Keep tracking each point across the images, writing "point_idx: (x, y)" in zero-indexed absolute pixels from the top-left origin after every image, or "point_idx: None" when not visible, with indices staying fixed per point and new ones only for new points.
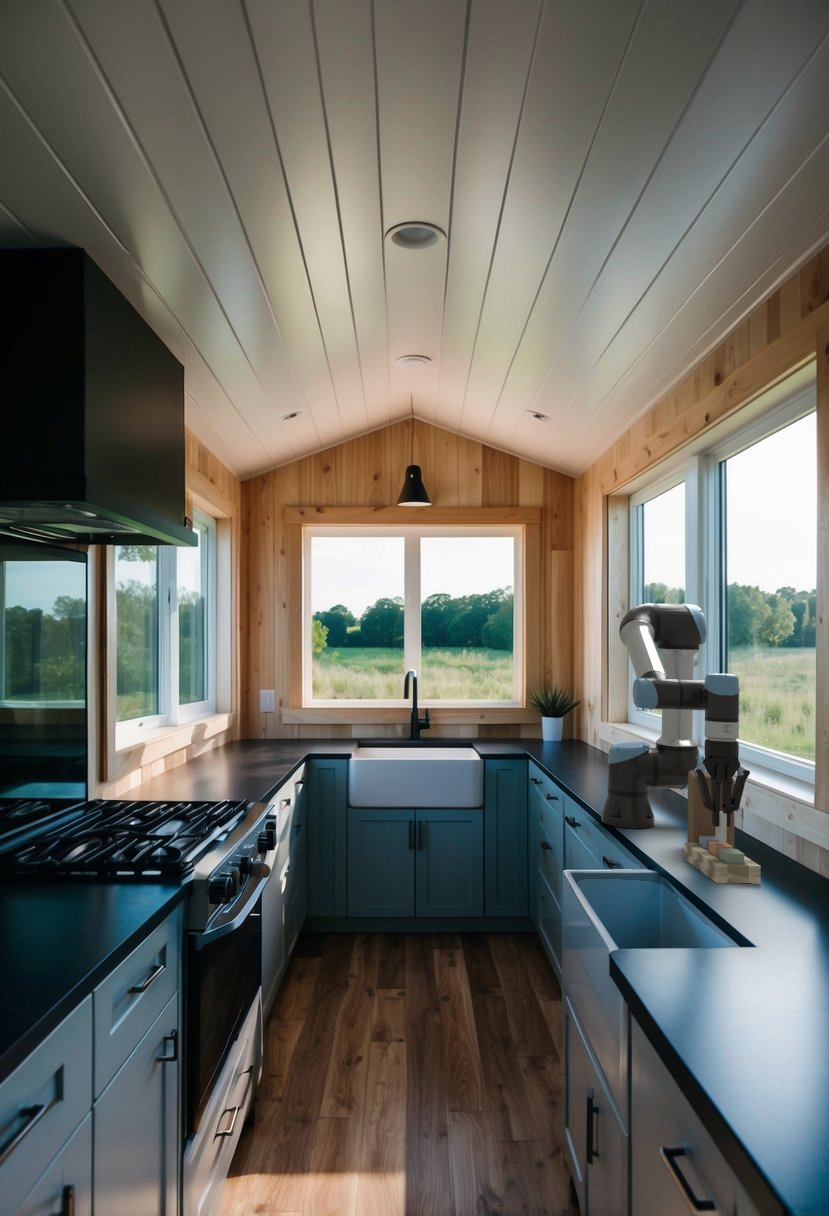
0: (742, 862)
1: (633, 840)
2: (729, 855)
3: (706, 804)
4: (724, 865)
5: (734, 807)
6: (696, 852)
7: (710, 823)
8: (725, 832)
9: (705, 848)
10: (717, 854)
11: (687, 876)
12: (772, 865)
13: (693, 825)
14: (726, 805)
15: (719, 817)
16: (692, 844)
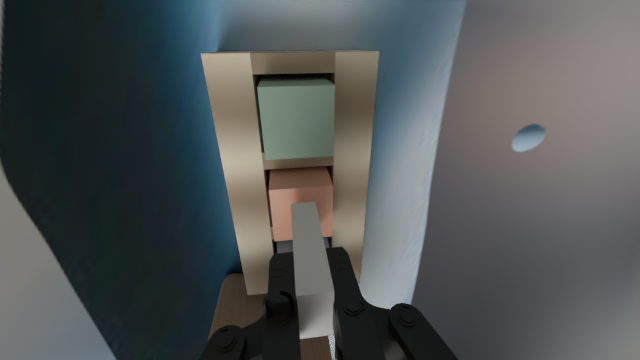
0: (266, 82)
1: None
2: (321, 84)
3: (436, 336)
4: (346, 52)
5: (239, 343)
6: (364, 211)
7: None
8: (296, 226)
9: (327, 239)
10: (322, 173)
11: (410, 115)
12: (132, 239)
13: (329, 347)
14: (298, 349)
15: (329, 280)
16: None
